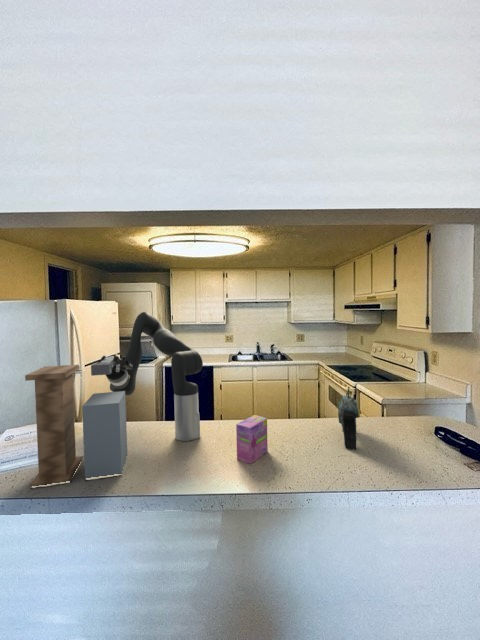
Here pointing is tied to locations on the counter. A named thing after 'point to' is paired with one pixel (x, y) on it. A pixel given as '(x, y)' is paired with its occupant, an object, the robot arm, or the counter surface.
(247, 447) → the box
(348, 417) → the dark grey upright piece
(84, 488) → the counter surface
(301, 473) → the counter surface
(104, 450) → the slate block
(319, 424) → the counter surface
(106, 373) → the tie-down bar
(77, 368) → the walnut stand
